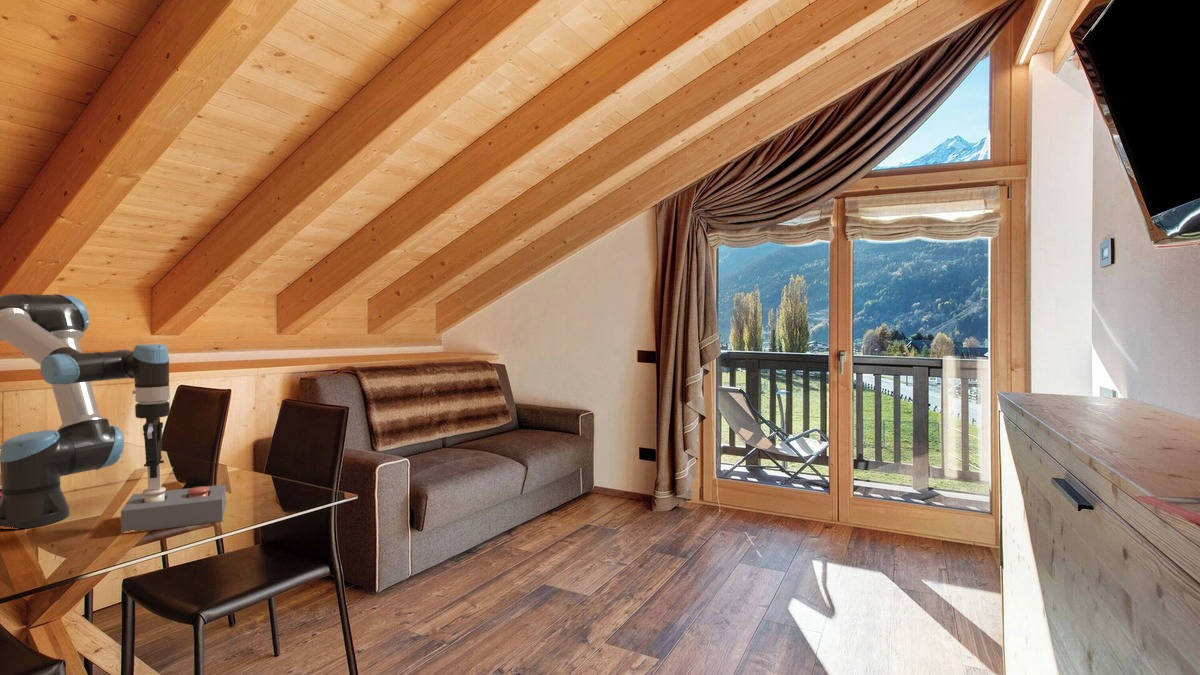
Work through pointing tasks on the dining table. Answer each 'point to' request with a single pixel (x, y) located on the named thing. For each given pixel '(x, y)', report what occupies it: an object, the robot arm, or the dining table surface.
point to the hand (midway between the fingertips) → (154, 488)
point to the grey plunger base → (173, 510)
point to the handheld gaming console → (196, 482)
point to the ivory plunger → (154, 495)
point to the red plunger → (198, 492)
